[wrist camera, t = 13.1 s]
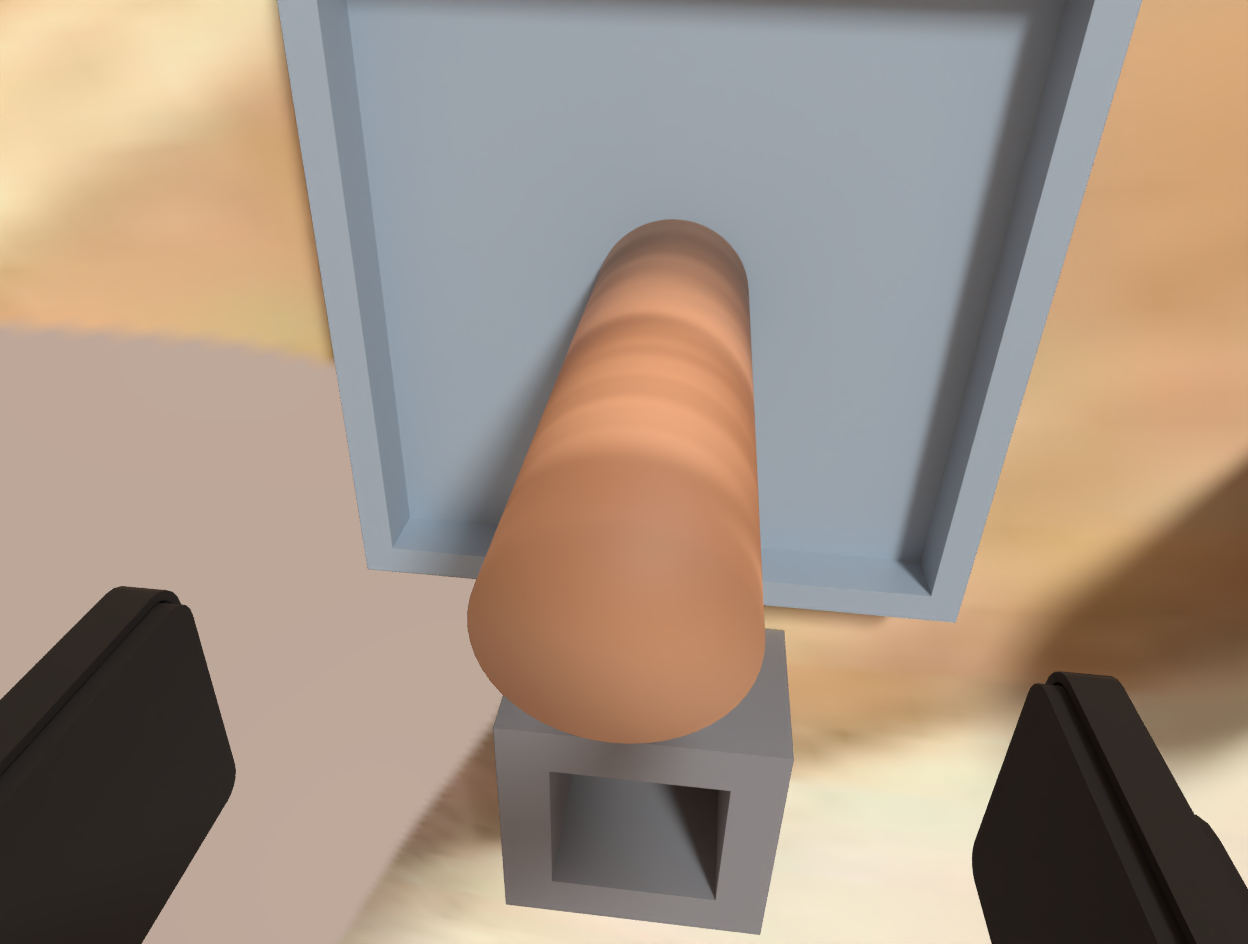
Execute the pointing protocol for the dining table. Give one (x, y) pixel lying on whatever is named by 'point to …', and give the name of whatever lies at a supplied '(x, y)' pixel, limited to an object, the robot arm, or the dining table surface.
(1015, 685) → the dining table surface
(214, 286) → the dining table surface
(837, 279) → the tray
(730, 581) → the dowel
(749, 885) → the socket block
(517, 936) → the dining table surface
